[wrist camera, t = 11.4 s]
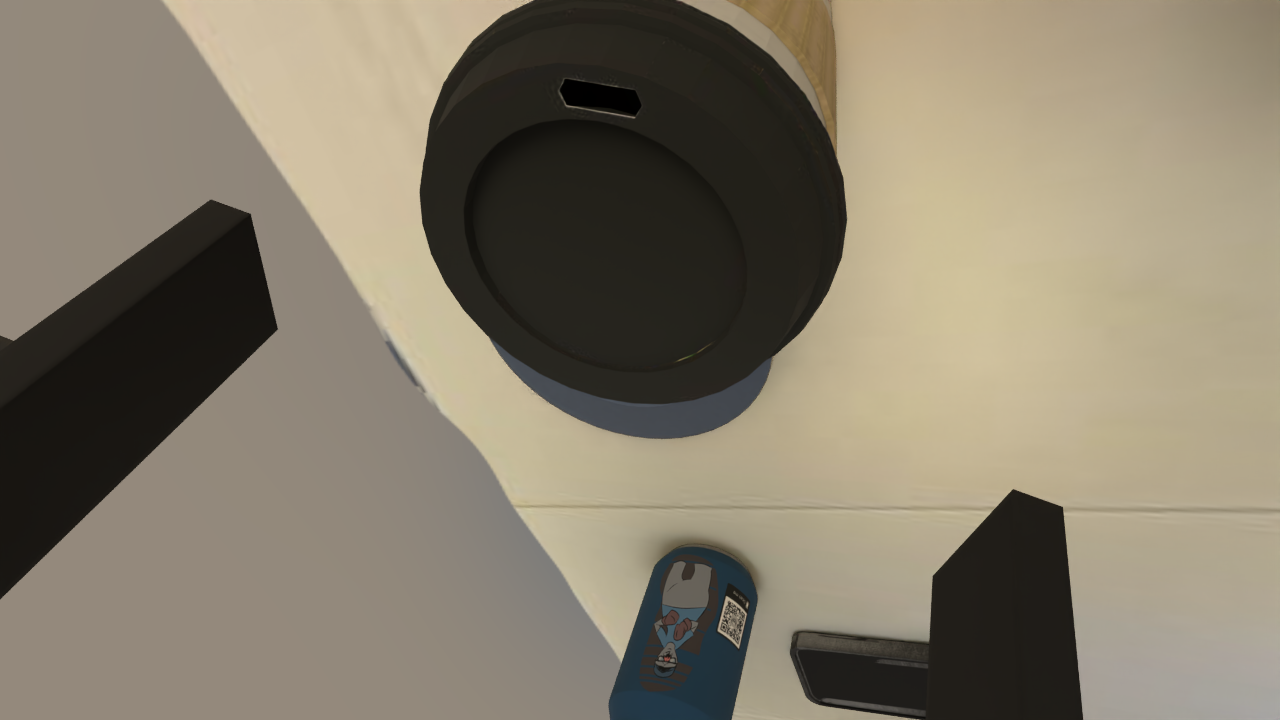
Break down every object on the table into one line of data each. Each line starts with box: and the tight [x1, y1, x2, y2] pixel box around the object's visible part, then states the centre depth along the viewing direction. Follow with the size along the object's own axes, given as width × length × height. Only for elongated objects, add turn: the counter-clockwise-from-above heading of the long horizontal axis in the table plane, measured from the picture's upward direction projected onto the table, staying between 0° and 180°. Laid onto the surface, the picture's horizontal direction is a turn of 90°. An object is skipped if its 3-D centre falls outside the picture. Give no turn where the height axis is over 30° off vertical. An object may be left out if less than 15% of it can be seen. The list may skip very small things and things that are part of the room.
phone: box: [790, 632, 929, 720], centre depth 50 cm, size 8×1×15 cm
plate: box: [489, 337, 774, 439], centre depth 37 cm, size 15×15×1 cm
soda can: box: [609, 544, 758, 720], centre depth 46 cm, size 7×7×12 cm
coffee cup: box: [420, 0, 847, 404], centre depth 22 cm, size 10×10×15 cm
